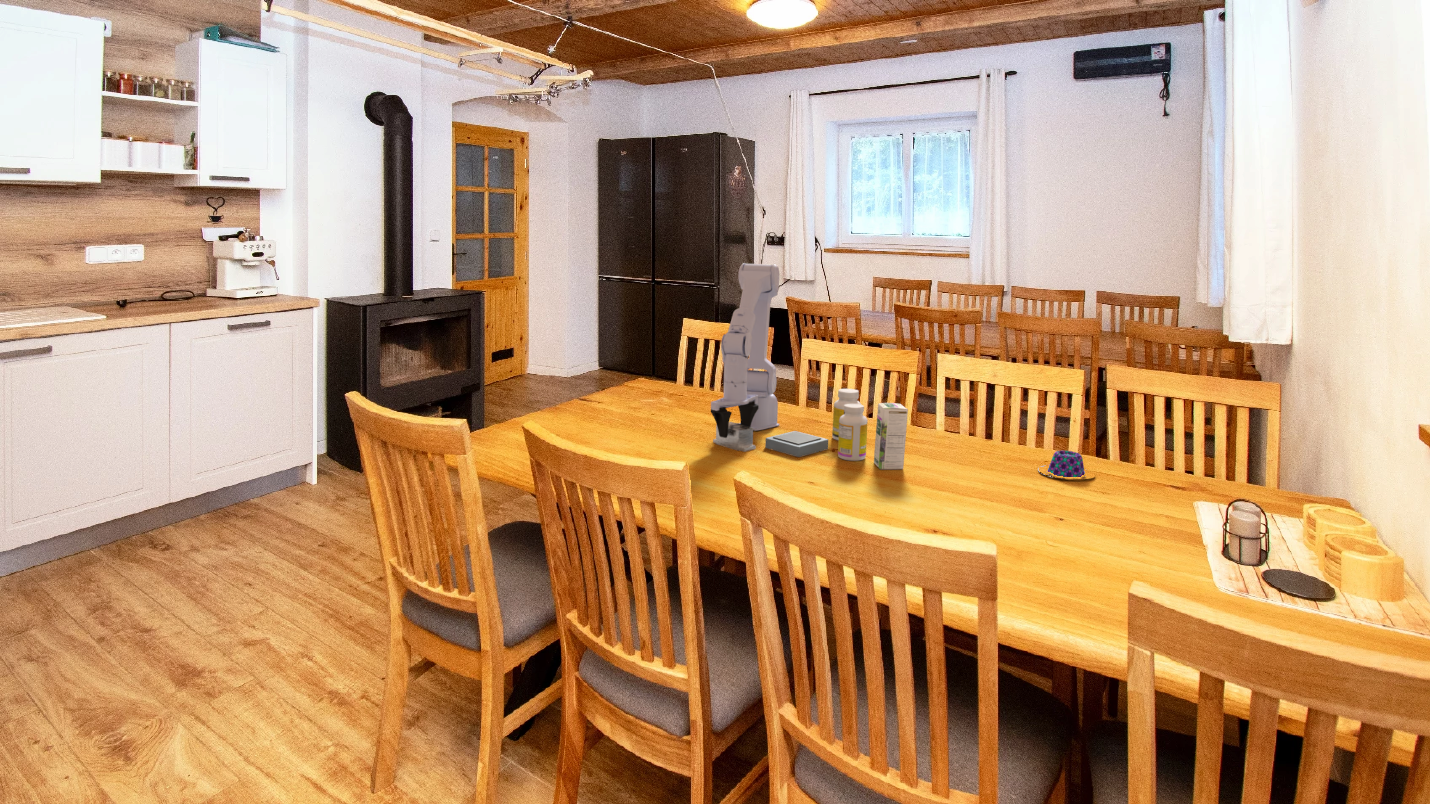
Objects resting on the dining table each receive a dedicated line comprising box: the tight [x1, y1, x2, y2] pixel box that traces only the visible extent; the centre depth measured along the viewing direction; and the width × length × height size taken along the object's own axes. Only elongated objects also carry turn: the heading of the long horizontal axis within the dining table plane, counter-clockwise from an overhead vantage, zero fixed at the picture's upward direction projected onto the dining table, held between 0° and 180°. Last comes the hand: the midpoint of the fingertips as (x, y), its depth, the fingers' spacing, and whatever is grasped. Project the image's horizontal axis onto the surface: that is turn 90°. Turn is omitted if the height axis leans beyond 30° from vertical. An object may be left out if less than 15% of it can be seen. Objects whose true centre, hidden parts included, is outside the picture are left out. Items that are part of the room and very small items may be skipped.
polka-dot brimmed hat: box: [1037, 450, 1085, 478], centre depth 191 cm, size 12×12×5 cm
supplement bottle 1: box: [831, 388, 862, 441], centre depth 217 cm, size 7×7×13 cm
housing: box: [712, 421, 757, 453], centre depth 210 cm, size 5×11×6 cm, turn 43°
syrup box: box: [873, 402, 909, 470], centre depth 194 cm, size 6×6×14 cm
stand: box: [764, 430, 829, 458], centre depth 209 cm, size 11×11×3 cm
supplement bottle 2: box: [837, 404, 868, 462], centre depth 200 cm, size 7×7×13 cm
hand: (734, 434), depth 210 cm, fingers open, 7 cm apart
